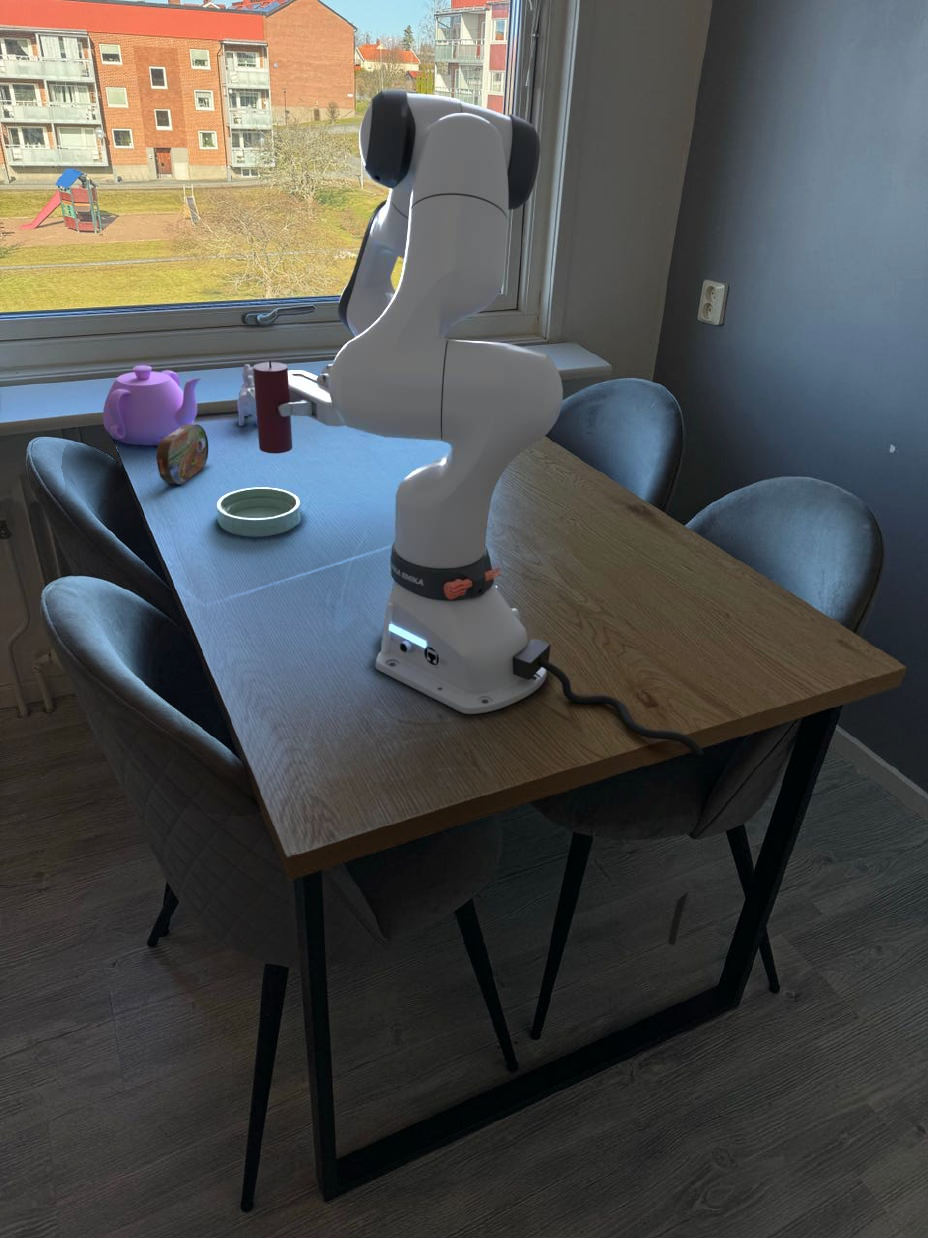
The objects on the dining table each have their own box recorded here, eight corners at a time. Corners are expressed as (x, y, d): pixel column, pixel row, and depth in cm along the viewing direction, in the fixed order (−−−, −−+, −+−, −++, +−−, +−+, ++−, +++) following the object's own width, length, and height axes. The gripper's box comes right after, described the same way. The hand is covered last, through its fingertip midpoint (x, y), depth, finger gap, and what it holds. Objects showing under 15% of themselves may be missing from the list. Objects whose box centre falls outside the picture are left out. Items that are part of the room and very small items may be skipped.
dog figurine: (268, 409, 195) (265, 360, 189) (263, 427, 184) (260, 376, 179) (243, 408, 194) (240, 360, 189) (237, 427, 183) (233, 376, 178)
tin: (173, 491, 153) (167, 445, 149) (157, 489, 154) (150, 443, 149) (211, 462, 166) (207, 418, 162) (196, 460, 166) (191, 416, 162)
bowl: (316, 525, 144) (315, 507, 143) (243, 545, 137) (242, 526, 135) (274, 498, 153) (273, 481, 151) (204, 516, 145) (202, 498, 143)
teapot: (175, 464, 164) (166, 391, 157) (78, 446, 170) (65, 374, 163) (238, 429, 182) (232, 362, 175) (148, 414, 188) (139, 348, 181)
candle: (298, 449, 141) (293, 362, 134) (270, 455, 138) (263, 366, 131) (281, 440, 144) (276, 354, 137) (253, 446, 141) (246, 359, 134)
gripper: (307, 357, 150) (233, 368, 142) (378, 386, 137) (301, 401, 129) (308, 393, 153) (237, 407, 145) (378, 426, 140) (304, 442, 132)
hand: (268, 404), depth 137 cm, fingers closed on candle, 5 cm apart
